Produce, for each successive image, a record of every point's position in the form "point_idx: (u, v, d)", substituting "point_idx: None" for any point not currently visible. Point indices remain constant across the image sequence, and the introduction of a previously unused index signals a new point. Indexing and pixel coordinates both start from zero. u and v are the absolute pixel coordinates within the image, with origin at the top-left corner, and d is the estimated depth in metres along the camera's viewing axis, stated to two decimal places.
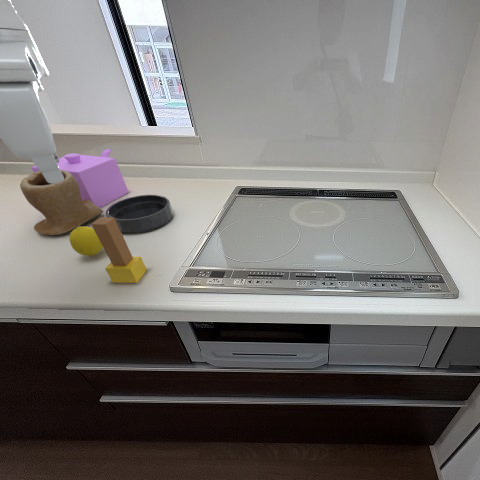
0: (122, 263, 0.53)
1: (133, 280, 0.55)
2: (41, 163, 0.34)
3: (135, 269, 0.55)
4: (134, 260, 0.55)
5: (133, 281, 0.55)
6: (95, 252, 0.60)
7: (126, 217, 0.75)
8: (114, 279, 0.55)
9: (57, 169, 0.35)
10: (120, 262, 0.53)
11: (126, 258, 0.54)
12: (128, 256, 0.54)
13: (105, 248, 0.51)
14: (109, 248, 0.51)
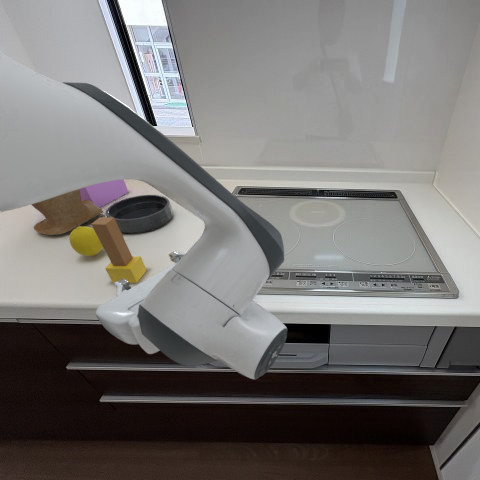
0: (122, 263, 0.53)
1: (133, 280, 0.55)
2: None
3: (135, 269, 0.55)
4: (134, 260, 0.55)
5: (133, 281, 0.55)
6: (95, 252, 0.60)
7: (126, 217, 0.75)
8: (114, 279, 0.55)
9: None
10: (120, 262, 0.53)
11: (126, 258, 0.54)
12: (128, 256, 0.54)
13: (105, 248, 0.51)
14: (109, 248, 0.51)
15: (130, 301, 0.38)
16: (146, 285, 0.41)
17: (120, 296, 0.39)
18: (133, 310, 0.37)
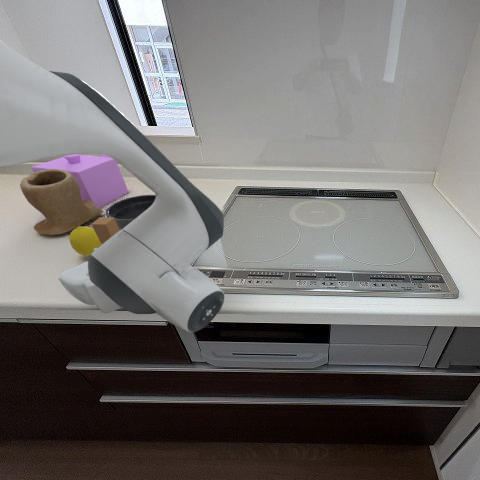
0: None
1: None
2: None
3: None
4: None
5: None
6: None
7: (126, 217, 0.75)
8: None
9: None
10: None
11: None
12: None
13: None
14: None
15: None
16: None
17: (82, 264, 0.45)
18: None
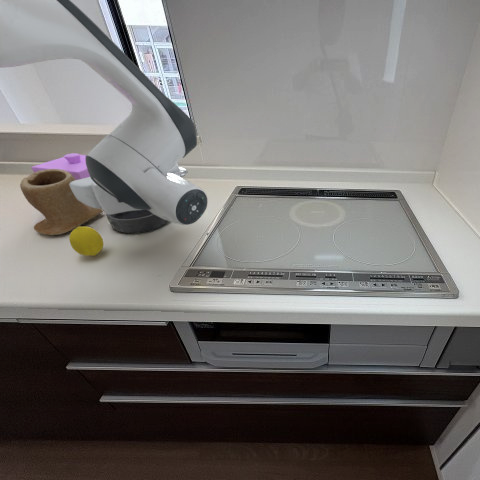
0: None
1: None
2: None
3: None
4: None
5: None
6: (95, 252, 0.60)
7: (126, 217, 0.75)
8: None
9: None
10: None
11: None
12: None
13: None
14: None
15: None
16: None
17: (88, 177, 0.53)
18: None
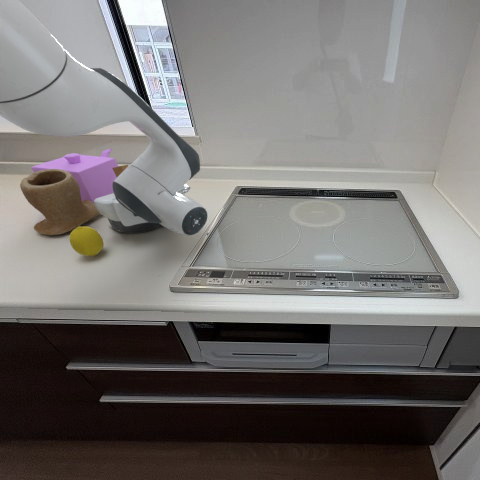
0: None
1: None
2: None
3: None
4: None
5: None
6: (95, 252, 0.60)
7: None
8: None
9: None
10: None
11: None
12: None
13: None
14: None
15: (114, 197, 0.63)
16: None
17: (109, 195, 0.64)
18: None
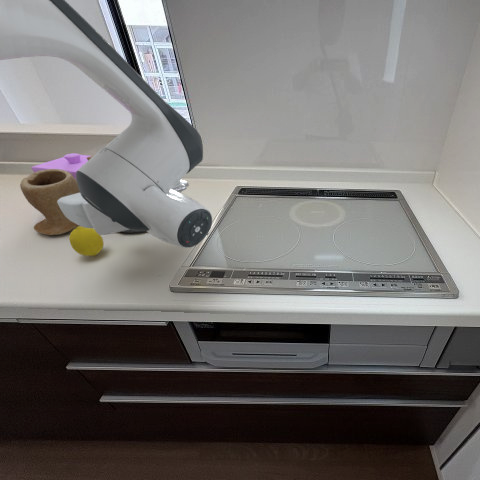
0: None
1: None
2: None
3: None
4: None
5: None
6: (95, 252, 0.60)
7: None
8: None
9: None
10: None
11: None
12: None
13: None
14: None
15: None
16: None
17: (79, 193, 0.48)
18: None
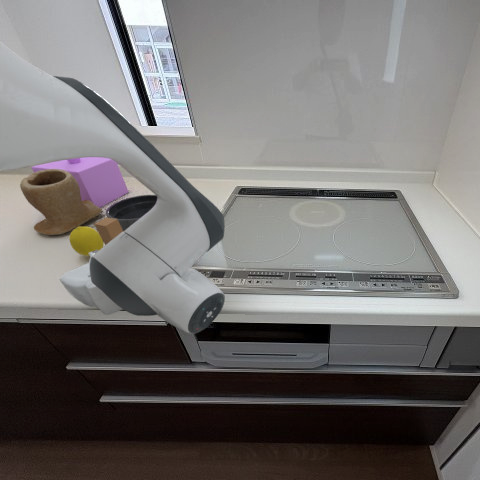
0: None
1: None
2: None
3: None
4: None
5: None
6: None
7: (126, 217, 0.75)
8: None
9: None
10: None
11: None
12: None
13: None
14: None
15: None
16: None
17: (83, 266, 0.45)
18: None
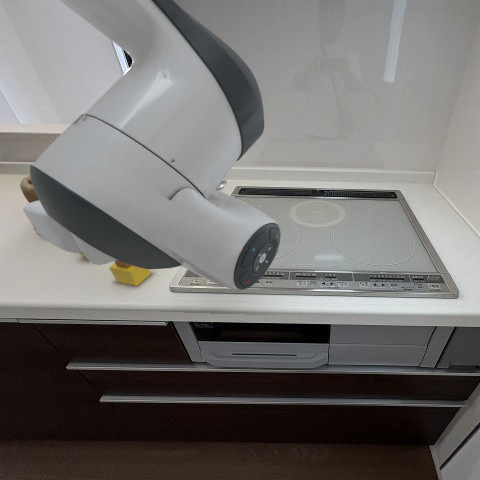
0: (124, 265, 0.53)
1: (133, 283, 0.54)
2: None
3: (135, 272, 0.54)
4: None
5: (133, 284, 0.55)
6: None
7: None
8: (117, 279, 0.55)
9: None
10: (122, 264, 0.53)
11: None
12: None
13: None
14: None
15: None
16: None
17: None
18: None
